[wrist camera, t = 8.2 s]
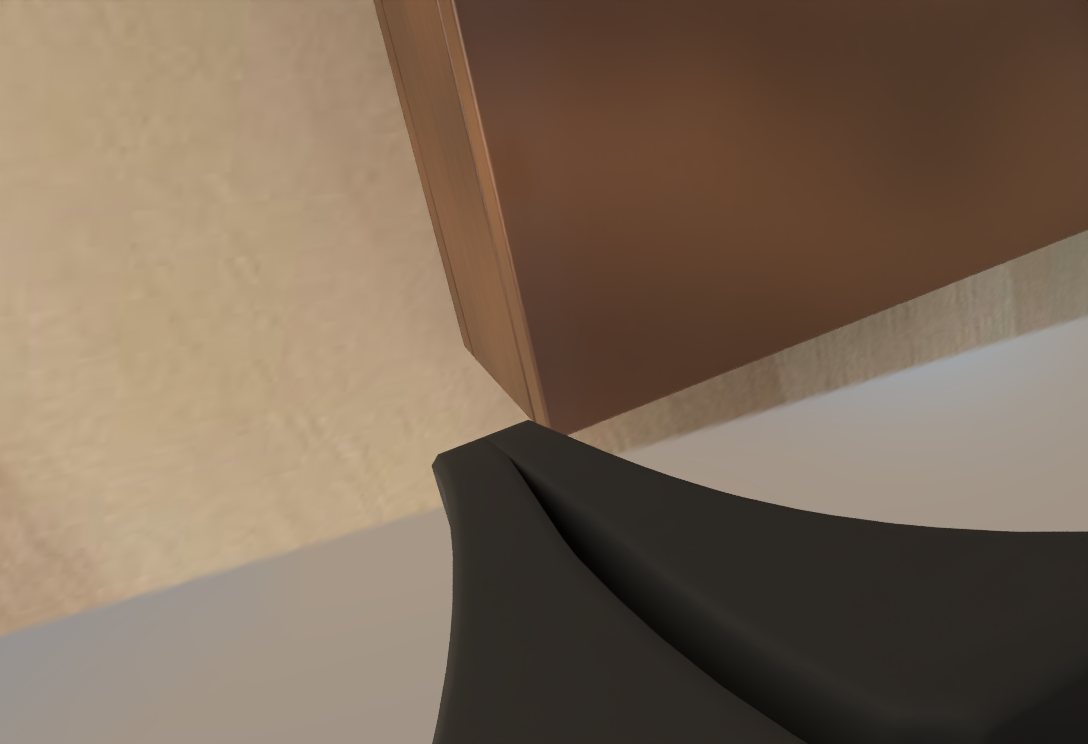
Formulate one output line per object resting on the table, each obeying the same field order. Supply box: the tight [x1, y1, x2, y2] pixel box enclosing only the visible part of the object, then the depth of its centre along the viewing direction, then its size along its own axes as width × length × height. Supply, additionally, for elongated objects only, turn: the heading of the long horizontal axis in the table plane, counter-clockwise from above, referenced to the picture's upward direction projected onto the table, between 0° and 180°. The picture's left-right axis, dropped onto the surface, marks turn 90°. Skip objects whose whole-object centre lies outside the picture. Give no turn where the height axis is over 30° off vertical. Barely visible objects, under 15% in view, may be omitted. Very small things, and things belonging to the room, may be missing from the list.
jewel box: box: [374, 0, 536, 423], centre depth 18 cm, size 13×16×5 cm
